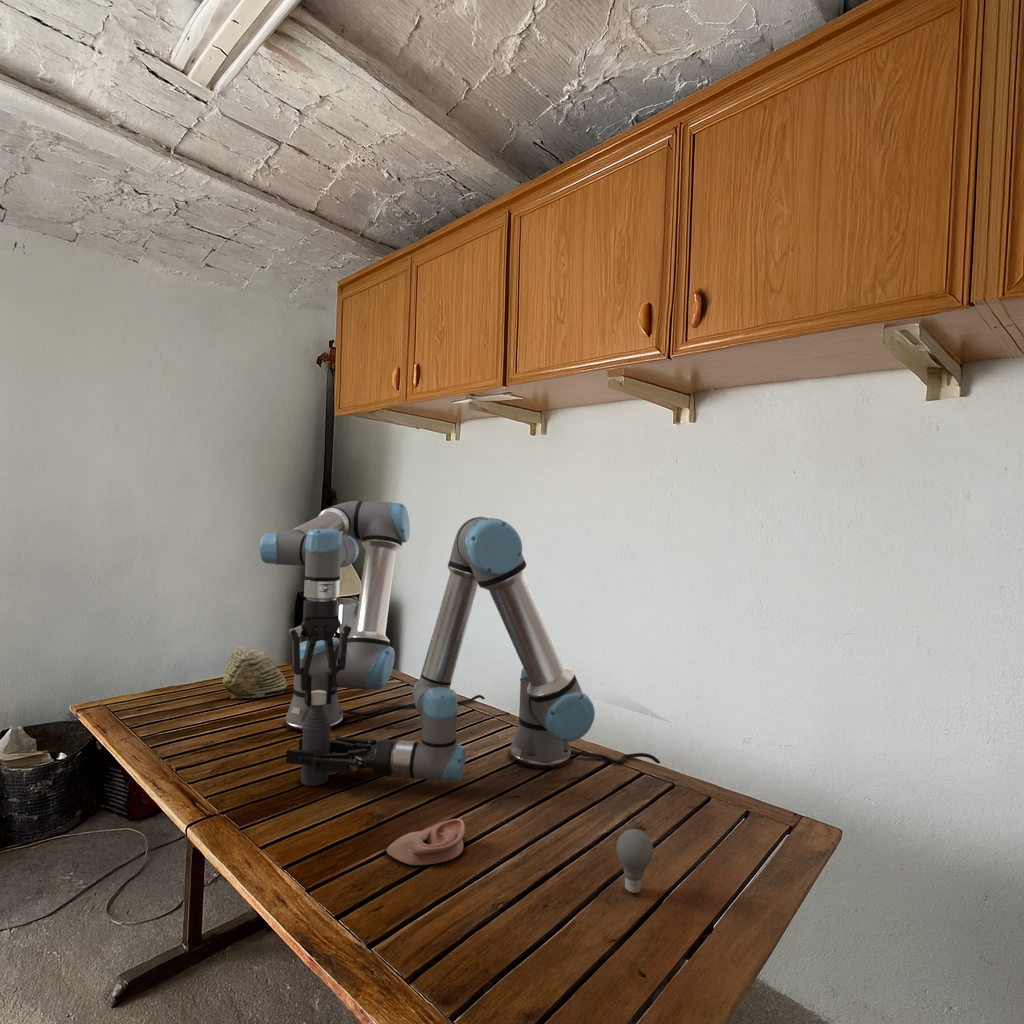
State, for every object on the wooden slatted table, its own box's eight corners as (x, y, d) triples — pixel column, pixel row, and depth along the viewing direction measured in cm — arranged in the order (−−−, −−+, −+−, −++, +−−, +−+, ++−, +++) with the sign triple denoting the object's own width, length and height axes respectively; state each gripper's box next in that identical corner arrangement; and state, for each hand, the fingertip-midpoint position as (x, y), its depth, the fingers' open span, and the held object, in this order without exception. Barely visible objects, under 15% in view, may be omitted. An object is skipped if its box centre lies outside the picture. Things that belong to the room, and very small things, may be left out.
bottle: (333, 776, 144) (336, 694, 143) (319, 787, 138) (322, 702, 138) (310, 772, 145) (313, 691, 145) (295, 783, 139) (298, 699, 139)
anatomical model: (380, 837, 111) (404, 807, 122) (379, 860, 111) (403, 827, 122) (452, 849, 108) (470, 817, 120) (451, 872, 108) (469, 838, 120)
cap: (323, 698, 144) (323, 689, 144) (329, 703, 141) (329, 693, 141) (306, 701, 142) (306, 691, 142) (311, 706, 138) (312, 696, 138)
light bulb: (610, 879, 108) (613, 822, 108) (644, 879, 109) (647, 822, 109) (619, 902, 102) (622, 840, 102) (655, 901, 103) (658, 840, 103)
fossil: (218, 695, 195) (220, 647, 195) (278, 685, 208) (279, 640, 207) (228, 703, 189) (230, 653, 188) (289, 692, 201) (290, 645, 201)
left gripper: (285, 603, 133) (281, 713, 134) (363, 599, 142) (359, 703, 142) (278, 597, 140) (275, 702, 140) (354, 594, 148) (350, 693, 149)
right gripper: (381, 795, 130) (273, 785, 132) (404, 758, 149) (309, 750, 151) (382, 758, 130) (274, 750, 132) (406, 726, 149) (311, 719, 151)
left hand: (317, 702), depth 141 cm, fingers closed on cap, 4 cm apart
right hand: (293, 750), depth 142 cm, fingers closed on bottle, 6 cm apart
